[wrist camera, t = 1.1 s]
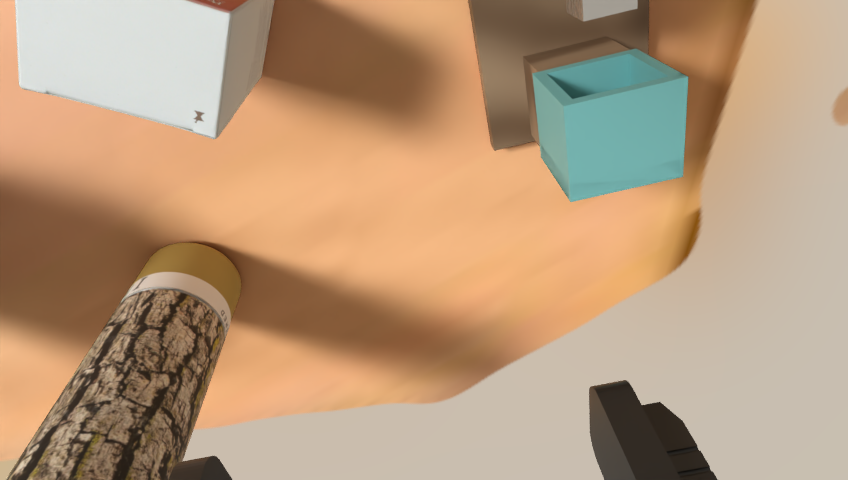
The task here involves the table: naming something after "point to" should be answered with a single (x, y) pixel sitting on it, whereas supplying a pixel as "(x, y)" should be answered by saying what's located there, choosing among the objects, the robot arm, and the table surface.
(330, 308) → the table surface
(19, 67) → the small box
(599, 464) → the robot arm
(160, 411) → the paper tube
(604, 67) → the socket
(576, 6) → the grey block with post
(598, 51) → the rig base
